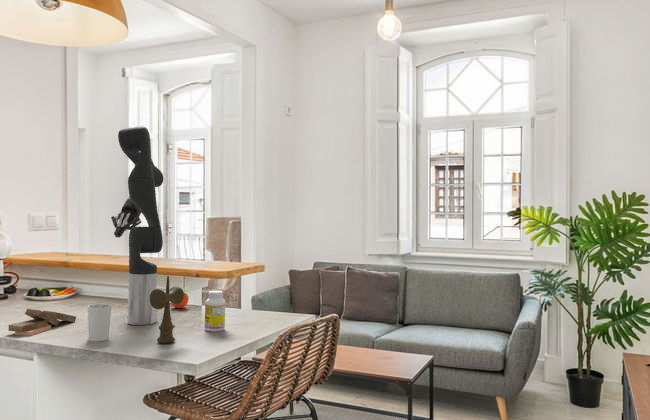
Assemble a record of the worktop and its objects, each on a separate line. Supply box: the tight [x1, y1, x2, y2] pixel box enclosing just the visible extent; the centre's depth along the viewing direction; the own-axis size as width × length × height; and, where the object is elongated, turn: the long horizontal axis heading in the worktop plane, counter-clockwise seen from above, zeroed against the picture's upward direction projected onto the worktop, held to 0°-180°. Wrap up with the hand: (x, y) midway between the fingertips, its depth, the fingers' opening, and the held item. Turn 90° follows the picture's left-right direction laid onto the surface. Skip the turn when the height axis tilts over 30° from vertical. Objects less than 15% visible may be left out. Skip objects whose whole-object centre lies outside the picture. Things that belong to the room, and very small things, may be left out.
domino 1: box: [8, 318, 48, 333], centre depth 171 cm, size 2×5×10 cm
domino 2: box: [24, 308, 60, 327], centre depth 177 cm, size 2×5×10 cm
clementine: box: [170, 290, 190, 309], centre depth 217 cm, size 8×7×7 cm
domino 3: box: [14, 325, 52, 337], centre depth 172 cm, size 2×5×10 cm
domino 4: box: [42, 310, 77, 323], centre depth 184 cm, size 2×5×10 cm
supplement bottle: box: [204, 290, 226, 333], centre depth 182 cm, size 7×7×13 cm
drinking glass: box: [87, 303, 112, 342], centre depth 165 cm, size 7×7×10 cm
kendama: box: [150, 275, 185, 345], centre depth 164 cm, size 6×10×20 cm, turn 157°
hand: (116, 236), depth 212 cm, fingers closed
